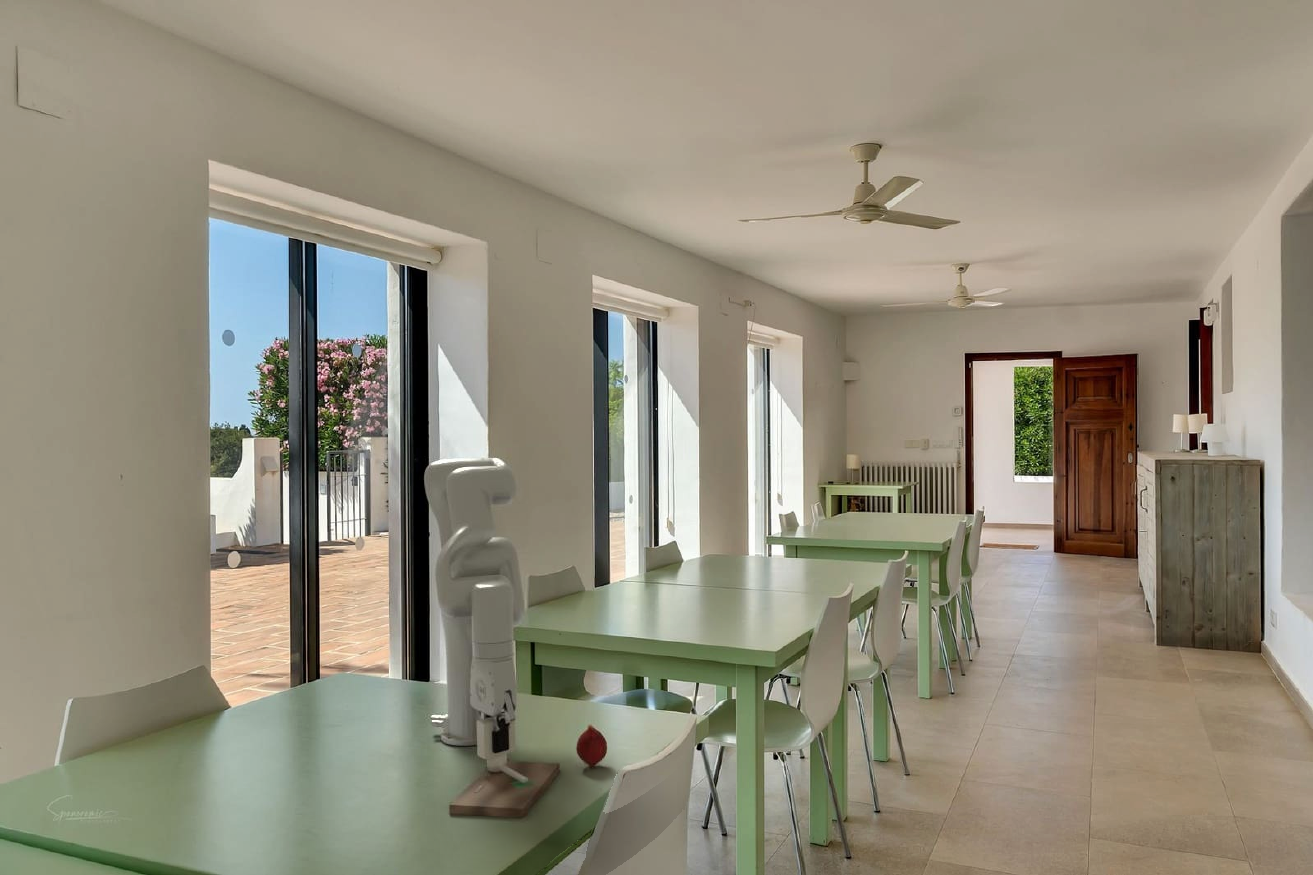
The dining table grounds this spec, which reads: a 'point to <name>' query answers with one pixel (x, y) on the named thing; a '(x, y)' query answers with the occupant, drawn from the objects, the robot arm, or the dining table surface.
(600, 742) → the onion
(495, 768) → the tuning peg
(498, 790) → the board
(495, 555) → the robot arm
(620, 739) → the dining table surface
